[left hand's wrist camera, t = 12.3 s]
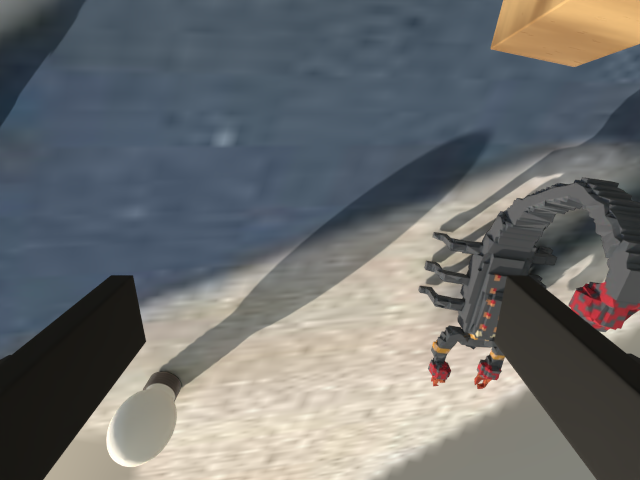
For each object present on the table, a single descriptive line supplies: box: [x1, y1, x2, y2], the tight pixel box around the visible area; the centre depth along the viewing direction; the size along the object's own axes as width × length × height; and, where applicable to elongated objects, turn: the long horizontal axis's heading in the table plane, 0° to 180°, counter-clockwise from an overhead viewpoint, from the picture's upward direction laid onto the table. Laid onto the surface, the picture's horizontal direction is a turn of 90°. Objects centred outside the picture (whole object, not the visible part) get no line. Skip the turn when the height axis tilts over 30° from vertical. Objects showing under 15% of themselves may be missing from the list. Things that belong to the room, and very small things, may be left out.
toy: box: [419, 177, 640, 389], centre depth 33 cm, size 13×27×18 cm, turn 172°
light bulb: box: [107, 372, 181, 467], centre depth 42 cm, size 7×7×11 cm
